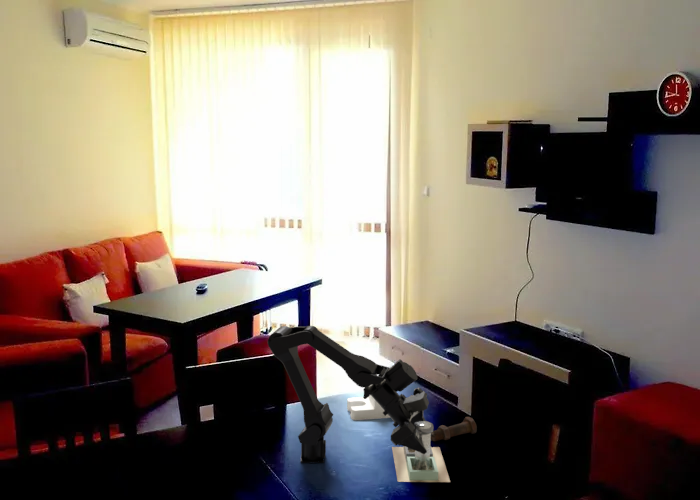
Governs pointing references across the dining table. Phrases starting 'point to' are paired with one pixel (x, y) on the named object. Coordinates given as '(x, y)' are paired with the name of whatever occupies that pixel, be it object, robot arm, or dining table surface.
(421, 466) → the silver tall tapered cylinder
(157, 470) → the dining table surface
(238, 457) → the dining table surface
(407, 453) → the holder
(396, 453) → the dock board
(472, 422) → the bolt
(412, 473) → the socket
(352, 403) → the u-slot stand
